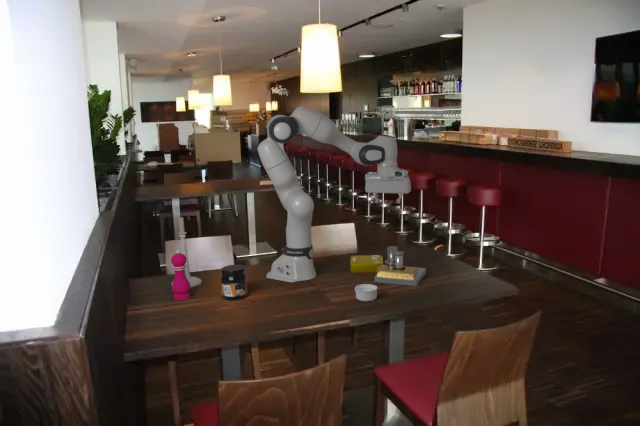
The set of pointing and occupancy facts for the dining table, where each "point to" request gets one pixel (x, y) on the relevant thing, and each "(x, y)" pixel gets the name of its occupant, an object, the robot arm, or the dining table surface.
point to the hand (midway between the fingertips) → (387, 203)
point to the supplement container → (233, 282)
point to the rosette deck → (398, 272)
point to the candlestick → (192, 280)
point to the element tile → (365, 263)
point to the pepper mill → (180, 277)
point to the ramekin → (366, 292)
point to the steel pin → (398, 260)
